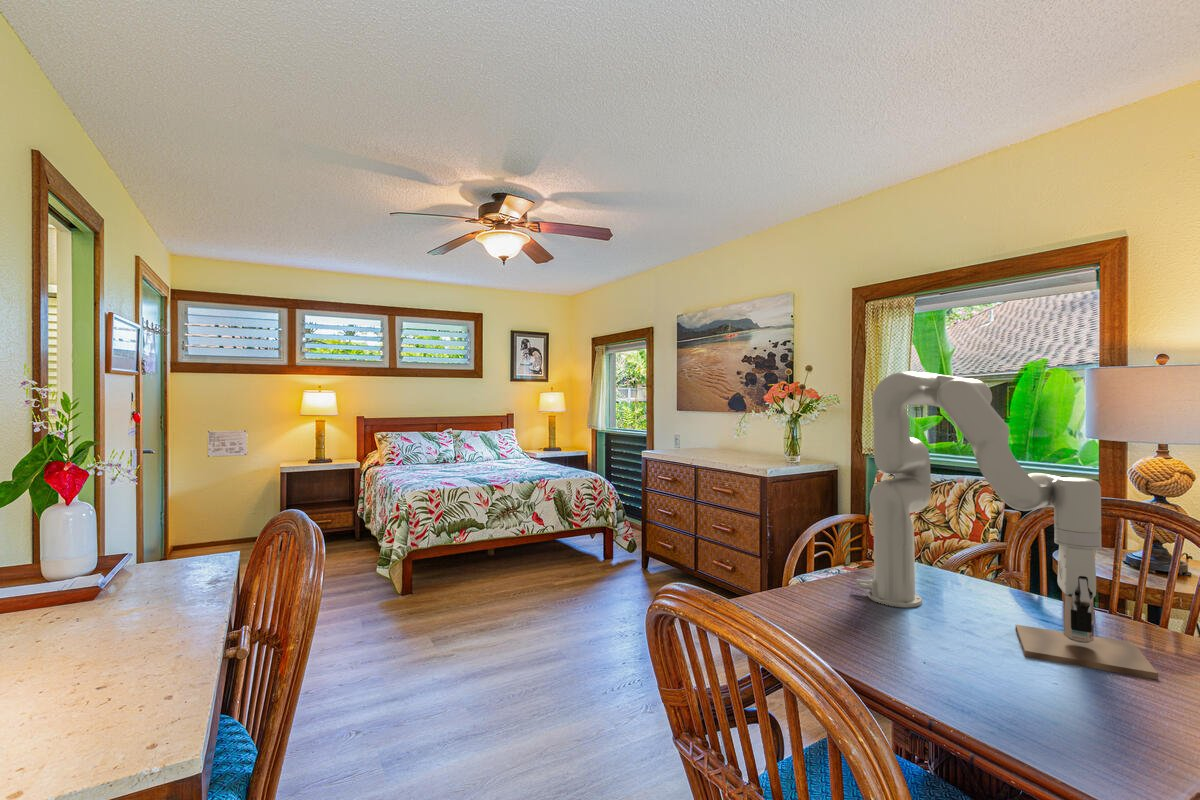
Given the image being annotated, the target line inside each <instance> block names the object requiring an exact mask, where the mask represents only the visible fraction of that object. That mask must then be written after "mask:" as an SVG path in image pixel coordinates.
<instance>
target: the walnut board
mask: <svg viewBox="0 0 1200 800" xmlns="http://www.w3.org/2000/svg"><path fill="white" fill-rule="evenodd" d="M1015 632H1016V635H1017V638H1018V641H1019V643H1020V646H1021V649H1022V652H1023V654H1024V657H1025V658H1032V659H1036V660H1042V661H1049V662H1053V663H1060V664H1066V665H1072V666H1077V667H1083V668H1088V669H1095V670H1101V671H1104V672H1105V671H1106V672H1111V673H1112V672H1113V673H1118V674H1124V675H1129V676H1135V677H1141V678H1146V679H1152V680H1159V672H1158V671H1157V670H1156V669H1155V667H1154V666H1153V665H1152V664H1151V663H1150V661H1149V660H1148V659H1147V658H1146V656H1145V654H1143V653H1142V652H1141V651H1140V649H1139V648H1138V647H1137V646H1136V645H1135V643H1134V642H1132V641H1126V640H1121V639H1120V640H1119V639H1113V638H1107V637H1106V638H1105V637H1102V636H1101V637H1100V636H1094V640H1093V641H1091V642H1089V643H1081V642H1076V641H1073V640H1070V639H1069V638H1067V637H1066V636H1065V635H1064V631H1062V630H1061V631H1060V630H1054V629H1047V628H1041V627H1034V626H1027V625H1023V624H1022V625H1020V624H1015Z"/></svg>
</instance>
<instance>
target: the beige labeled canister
mask: <svg viewBox="0 0 1200 800" xmlns="http://www.w3.org/2000/svg"><path fill="white" fill-rule="evenodd" d="M1090 592H1091V591H1090ZM1062 593H1063V594H1062V599H1063V601H1062V605H1063V606H1062V607H1063V613H1062V614H1063V618H1062V619H1063V632H1064V635H1065V636H1066V637H1067V638H1069V639H1070V640H1073V641H1076V642H1081V643H1089V642H1091V641H1093V640H1094V633H1095V631H1094V628H1095V626H1094V625H1095V622H1094V621H1095V620H1094V618H1095V617H1094V616H1095V615H1094V614H1095V613H1094V610H1095V609H1094V598H1090V603H1091V613H1092V632H1090V633H1089V632H1082V631H1076V630H1072V629H1071V609H1072V610H1073V607H1072V594H1069V595H1066V594H1065V593H1064V592H1063V591H1062ZM1091 593H1092V592H1091ZM1075 595H1079V596H1080V593H1079V592H1075ZM1078 600H1080V599H1079V598H1076V602H1077V601H1078Z"/></svg>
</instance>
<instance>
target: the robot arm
mask: <svg viewBox="0 0 1200 800" xmlns="http://www.w3.org/2000/svg"><path fill="white" fill-rule="evenodd" d="M992 400H993V393H992V390H991V389H990V387H989V386H988V385H987V384H986V383H985V382H984V381H982V380H979V379H977V378H976V379H975V378H968V377H967V378H966V377H961V376H960V377H959V376H958V377H957V376H952V375H945V374H938V373H934V372H923V371H922V372H921V371H919V372H918V371H900V372H895V373H892V374H890V375H888V376H886V377H884V378H883V379H882V380H881V381H880V382H879V383H878V384H876V387H875V388H874V391H873V393H872V401H871V402H872V404H871V405H872V415H873V457H874V458H873V459H874V463H875V466H876V467H877V469H878V470H879V471H881V472H883V473H884V474H888V475H890V474H891V475H893V474H894V478H890V479H889V478H888V479H883V480H880V481H879V482H877V483H876V484H875V485H874V486H873V487H872V488H871V491H870V493H869V504H870V509H871V510H870V511H871V516H872V524H873V560H874V561H873V567H874V570H873V571H874V572H873V573H874V574H873V579H869V580H865V579H861V578H856V581H855V583H856V587H860V588H859V589H865V590H868V592H867V596H868V598H869V599H870V600H871V601H873V602H875V603H877V602H878V604H880V603H881V604H880V605H884V604H885V605H884V606H888V605H889V606H888V607H894V606H895V608H916V607H919V606H921V605H922V604H923V599H922V597H921V596H920V595H919V594H916V572H915V571H916V567H915V565H916V564H915V563H916V561H915V559H916V558H915V557H916V556H915V553H916V552H915V551H916V550H915V529H914V526H913V523H912V520H911V518H912V517H911V515H910V514H912V513H917V512H919V511H922V510H925V508H927V506H928V505H929V503H930V501H931V494H932V493H931V492H932V483H931V482H932V481H931V478H932V477H931V459H930V458H931V456H930V453H929V450H928V448H927V446H926V445H925V444H924V442H923V441H921V440H920V439H918V438H915V437H911V434H910V433H911V431H910V430H911V429H910V428H911V427H910V425H911V424H910V419H909V418H910V417H909V415H908V413H907V409H906V408H907V406H910V405H915V406H919V405H920V406H921V405H923V406H925V405H926V406H930V407H931V406H932V407H938V408H942V410H943V411H944V412H945V413H946V415H947V416H948V417H949V419H950V421H952V422H953V424H954V425H955V426H956V427H957V429H958V430H959V432H961V434H962V435H963V437H964V438H965V440H966V441H967V442H968V443H969V445H970V446H971V448H972V452H973V456H974V459H975V461H976V463H977V465H978V470H979V471H980V472H981V474H982V476H983V477H984V479H985V480H986V482H987V483H988V484H989V486H990V487H991V488H992V490H993V491H994V492H995V494H996V495H997V496H998V497H999V499H1001V500H1002V502H1004V504H1006V505H1007V506H1009V507H1010V508H1012V509H1014V510H1017V511H1022V512H1029V511H1033V510H1038V509H1043V508H1053V515H1054V516H1053V521H1054V522H1053V528H1054V529H1053V530H1054V531H1053V532H1054V533H1053V535H1054V538H1053V539H1054V540H1053V541H1054V544H1056V545H1058V556H1057V557H1058V558H1057V579H1056V580H1057V585H1058V587H1059V588H1060V590H1061V591H1062V593H1063V592H1064V593H1065V594H1066V595H1069V594H1072V607H1073V610H1072V609H1071V629H1072V630H1076V631H1082V632H1089V633H1090V632H1092V613H1091V603H1090V598H1093V599H1094V598H1096V596H1097V595H1096V594H1097V567H1096V560H1097V559H1096V551H1095V550H1100V549H1102V488H1101V485H1100V483H1099V482H1098V481H1097V480H1095V479H1091V478H1086V477H1074V476H1073V477H1064V476H1063V477H1062V476H1059V475H1052V474H1048V473H1042V472H1032V473H1028V472H1027V471H1025V469H1024V468H1023V467H1022V466H1021V464H1020V463H1019V462H1018V461H1017V459H1016V458H1015V456H1014V455H1013V452H1012V451H1011V449H1010V445H1009V437H1010V427H1009V425H1008V424H1007V423H1006V421H1005V420H1004V419H1003V418H1002V417H1001V415H999V414H998V413H997V411H996V410H995V408H994V407H993V406H992V405H991V403H992ZM1090 591H1091V592H1092V593H1091V592H1090ZM1075 592H1079V593H1080V596H1079V595H1075ZM1076 598H1079V599H1080V600H1078V601H1077V602H1076Z"/></svg>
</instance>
